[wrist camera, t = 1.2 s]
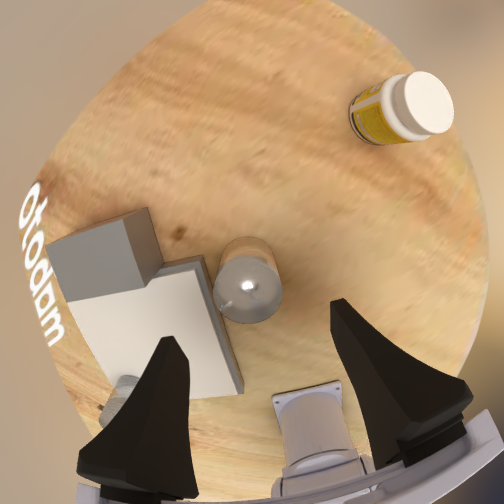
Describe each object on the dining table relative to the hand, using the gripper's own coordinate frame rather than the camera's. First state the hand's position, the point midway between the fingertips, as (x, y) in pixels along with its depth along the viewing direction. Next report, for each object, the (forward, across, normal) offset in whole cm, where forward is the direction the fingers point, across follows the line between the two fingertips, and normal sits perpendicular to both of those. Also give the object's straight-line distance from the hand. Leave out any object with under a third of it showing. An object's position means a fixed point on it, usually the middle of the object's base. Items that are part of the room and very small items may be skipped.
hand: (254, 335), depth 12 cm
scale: (+10, +11, +7) cm, 17 cm away
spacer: (+11, 0, +4) cm, 11 cm away
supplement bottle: (+13, -13, -6) cm, 20 cm away
